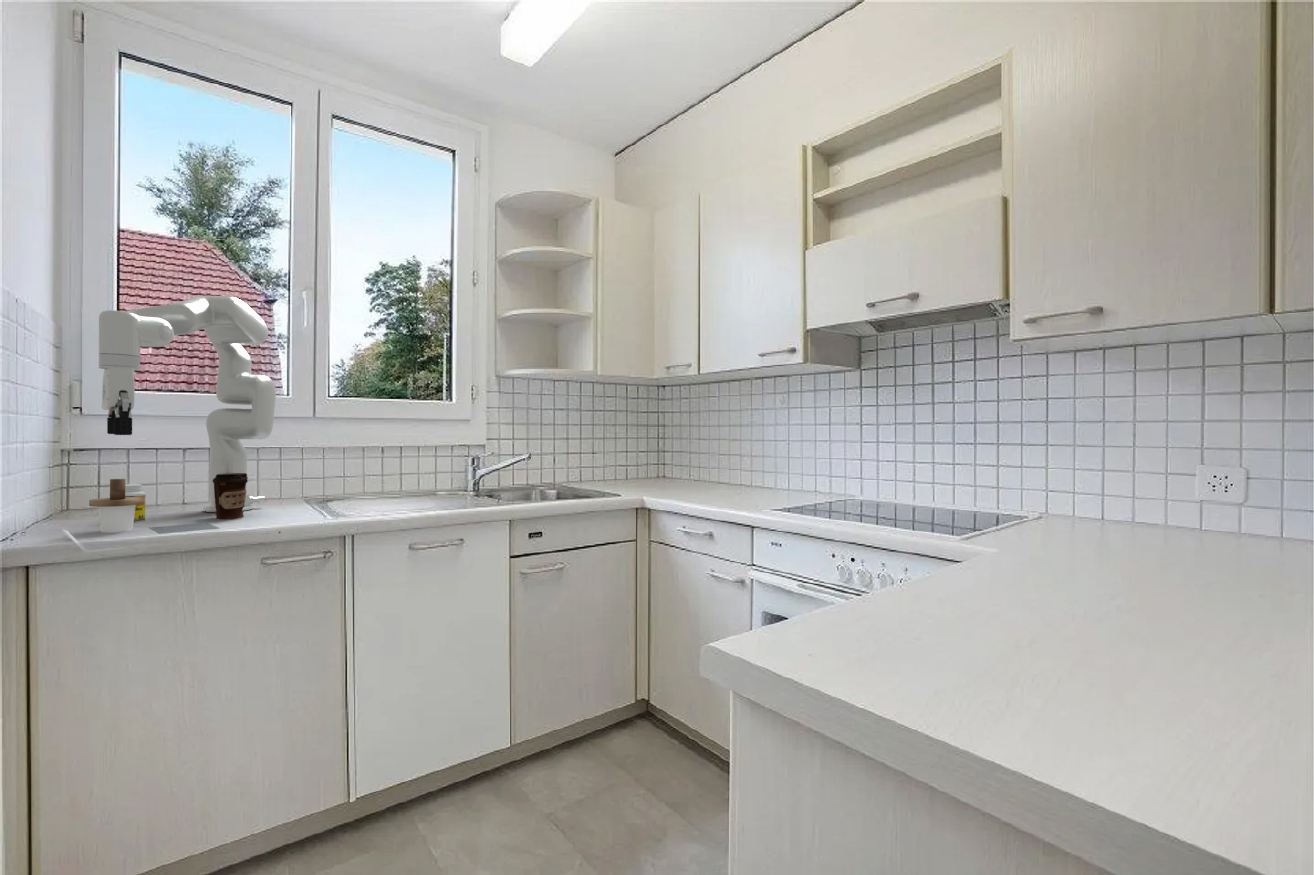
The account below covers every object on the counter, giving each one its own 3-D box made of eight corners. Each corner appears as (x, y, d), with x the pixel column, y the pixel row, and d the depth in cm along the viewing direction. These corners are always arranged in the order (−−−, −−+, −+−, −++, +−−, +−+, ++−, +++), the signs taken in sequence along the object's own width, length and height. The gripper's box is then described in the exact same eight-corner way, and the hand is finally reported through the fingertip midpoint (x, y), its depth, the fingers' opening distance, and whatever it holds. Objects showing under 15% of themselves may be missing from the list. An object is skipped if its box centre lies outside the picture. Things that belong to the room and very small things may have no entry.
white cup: (126, 535, 145) (126, 505, 145) (90, 535, 144) (91, 506, 143) (141, 530, 152) (141, 502, 152) (107, 531, 150) (108, 502, 150)
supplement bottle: (118, 525, 159) (118, 485, 159) (116, 522, 163) (117, 484, 163) (146, 523, 163) (146, 485, 162) (144, 521, 167) (144, 483, 166)
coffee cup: (255, 519, 174) (256, 473, 174) (224, 522, 166) (225, 474, 166) (236, 516, 177) (237, 472, 177) (205, 520, 170) (205, 473, 170)
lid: (139, 500, 155) (140, 477, 155) (148, 504, 148) (149, 479, 148) (85, 503, 147) (86, 478, 147) (92, 507, 141) (93, 481, 141)
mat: (207, 525, 162) (207, 522, 162) (219, 530, 154) (219, 528, 154) (148, 529, 153) (148, 527, 153) (159, 535, 145) (159, 533, 145)
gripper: (93, 363, 150) (93, 433, 151) (104, 359, 139) (104, 435, 139) (133, 366, 156) (133, 433, 156) (147, 362, 144) (146, 435, 145)
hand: (119, 434), depth 148 cm, fingers open, 9 cm apart
